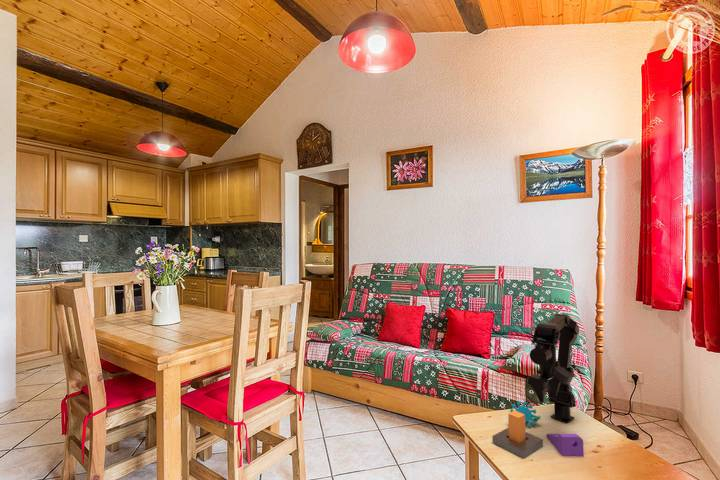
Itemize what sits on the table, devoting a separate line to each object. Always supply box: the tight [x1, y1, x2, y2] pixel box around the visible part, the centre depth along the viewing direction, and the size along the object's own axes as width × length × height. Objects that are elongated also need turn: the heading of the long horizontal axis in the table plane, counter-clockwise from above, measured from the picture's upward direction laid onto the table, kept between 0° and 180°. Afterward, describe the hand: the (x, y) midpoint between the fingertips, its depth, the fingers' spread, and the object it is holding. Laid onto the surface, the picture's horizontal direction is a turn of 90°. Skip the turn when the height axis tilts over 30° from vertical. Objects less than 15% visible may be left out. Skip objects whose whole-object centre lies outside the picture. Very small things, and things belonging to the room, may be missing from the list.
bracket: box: [546, 433, 585, 457], centre depth 129 cm, size 12×7×7 cm, turn 177°
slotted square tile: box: [491, 426, 544, 459], centre depth 131 cm, size 12×12×2 cm
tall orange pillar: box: [507, 410, 526, 444], centre depth 131 cm, size 4×4×11 cm
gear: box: [509, 401, 542, 428], centre depth 147 cm, size 11×6×10 cm
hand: (548, 399), depth 138 cm, fingers open, 9 cm apart
